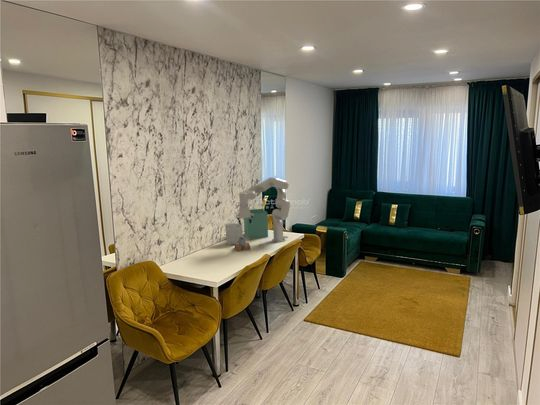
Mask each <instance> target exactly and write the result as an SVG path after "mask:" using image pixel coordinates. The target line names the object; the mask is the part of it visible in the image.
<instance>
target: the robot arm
mask: <svg viewBox="0 0 540 405" xmlns="http://www.w3.org/2000/svg"><path fill="white" fill-rule="evenodd" d="M272 187H273V188H275V189H276V191H277V196H276V200H275V207H277V208H275V209H273V210H272V212H271V217H272V224H273V226H272V228H273V229H272V230H273V232H272V233H273V238H272V240H271V241H272V242H275V243H281V242H285V240H286V239H288V238H289V237H288V235H284V222H283V221H285V220H287V219H288V217H289V212H290V208H291V202H290V200H288V199H286V198H287V191H286V190H288V189H289V182H288V181H287V180H284V179H280V178H277V177H268V178H267V179H264V180H263V181H261V182H260V183H258V184H256V185H253V186H251V187H249V188H247V189H246V190H244V191H242V192H240V193H239V194H238V195H239V204H238V206H237V207H238V213H237V214H236V215H235V218H236V219H237V220H238V223H239V224H240V225H241V223H242V222H241V219H244V218H250V219H249V223H251V219H252V217H253V215H254V214H253V213H250V210H251V208H250V206H249V200H255V199H256V198H257V194H258V193H259V194H260V193H264V192H266V191H267V190H268V189H270V188H272ZM250 214H251V215H252V216H251V217H250Z"/></svg>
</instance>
